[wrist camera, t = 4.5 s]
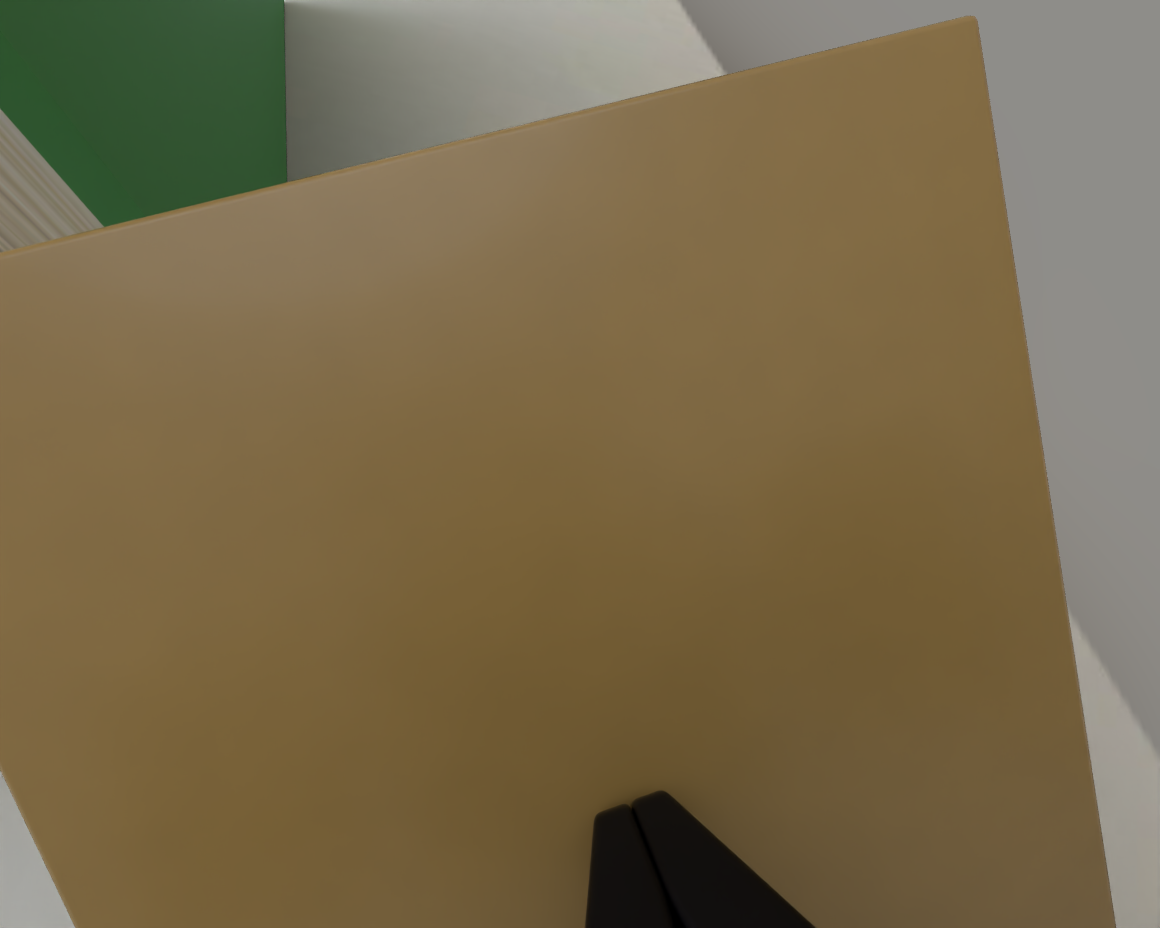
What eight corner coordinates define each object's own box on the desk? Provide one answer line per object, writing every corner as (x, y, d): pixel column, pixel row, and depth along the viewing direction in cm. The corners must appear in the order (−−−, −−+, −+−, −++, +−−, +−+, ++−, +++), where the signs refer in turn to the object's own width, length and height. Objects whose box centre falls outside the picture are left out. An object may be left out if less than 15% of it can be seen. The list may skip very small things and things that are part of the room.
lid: (-156, 310, 7) (-227, 305, 6) (931, 39, 9) (979, 10, 8) (338, 1385, 10) (330, 1471, 9) (1097, 1042, 11) (1143, 1093, 11)
